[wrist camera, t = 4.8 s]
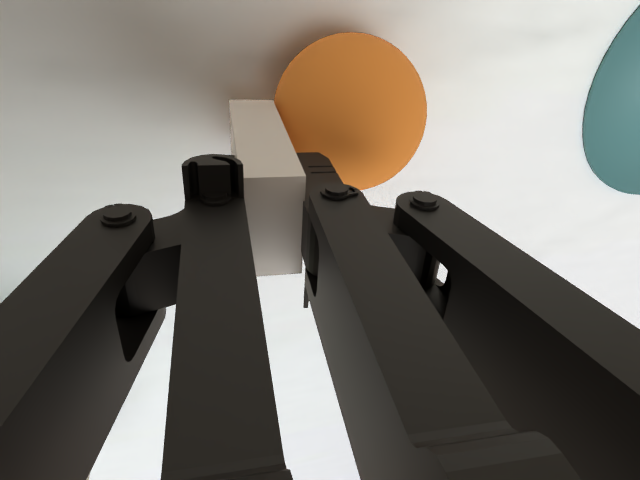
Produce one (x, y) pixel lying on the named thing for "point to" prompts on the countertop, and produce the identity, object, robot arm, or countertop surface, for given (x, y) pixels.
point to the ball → (354, 106)
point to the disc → (616, 113)
